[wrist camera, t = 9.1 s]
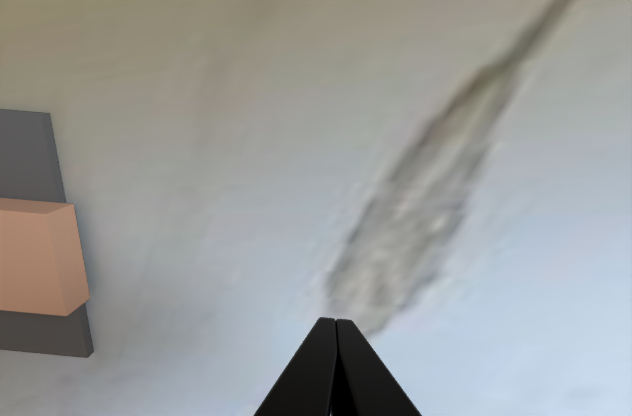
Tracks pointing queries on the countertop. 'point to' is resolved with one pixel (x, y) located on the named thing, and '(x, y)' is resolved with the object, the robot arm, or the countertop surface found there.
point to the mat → (37, 185)
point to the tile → (40, 258)
